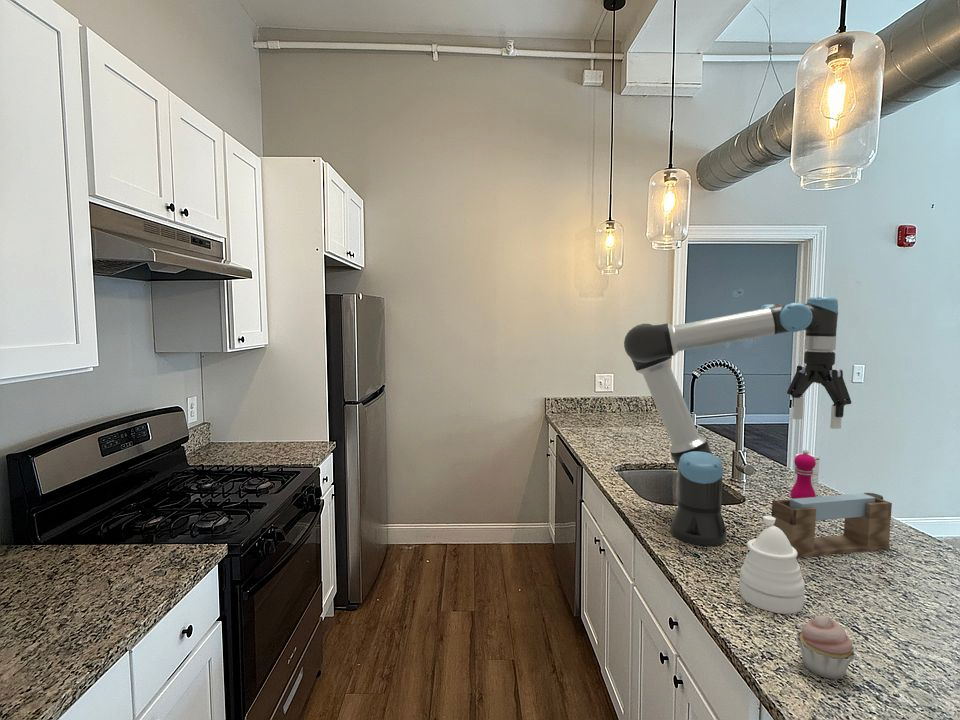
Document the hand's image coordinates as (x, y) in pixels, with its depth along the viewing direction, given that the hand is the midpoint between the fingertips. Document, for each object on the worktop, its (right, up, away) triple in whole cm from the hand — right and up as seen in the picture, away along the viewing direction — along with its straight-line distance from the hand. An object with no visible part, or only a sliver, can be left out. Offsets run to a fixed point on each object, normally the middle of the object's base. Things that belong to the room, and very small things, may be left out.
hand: (815, 423), depth 153 cm
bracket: (-1, -33, -8) cm, 34 cm away
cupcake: (-35, -38, -58) cm, 78 cm away
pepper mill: (+10, -31, +22) cm, 39 cm away
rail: (-1, -25, -8) cm, 26 cm away
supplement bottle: (+17, -33, +1) cm, 37 cm away
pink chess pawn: (+19, -30, +36) cm, 50 cm away
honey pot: (-32, -36, -34) cm, 59 cm away
